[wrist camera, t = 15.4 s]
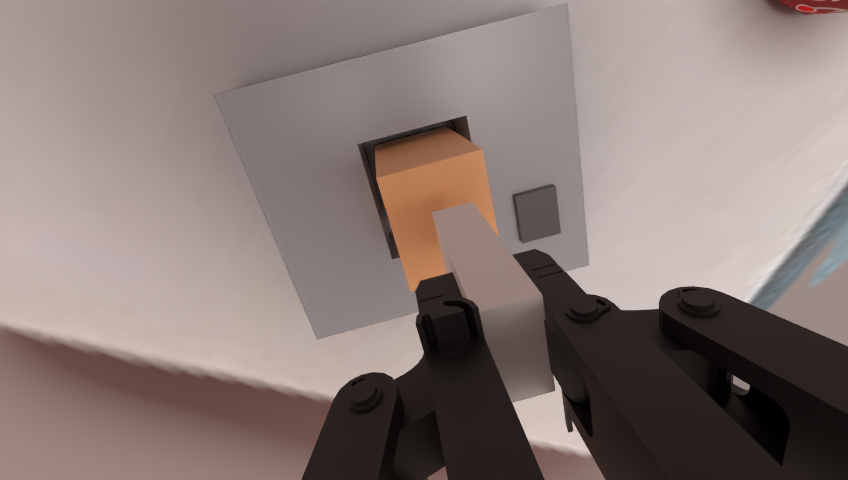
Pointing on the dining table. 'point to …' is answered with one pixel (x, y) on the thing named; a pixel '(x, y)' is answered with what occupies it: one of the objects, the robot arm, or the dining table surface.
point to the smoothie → (817, 6)
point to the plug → (429, 193)
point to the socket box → (398, 112)
